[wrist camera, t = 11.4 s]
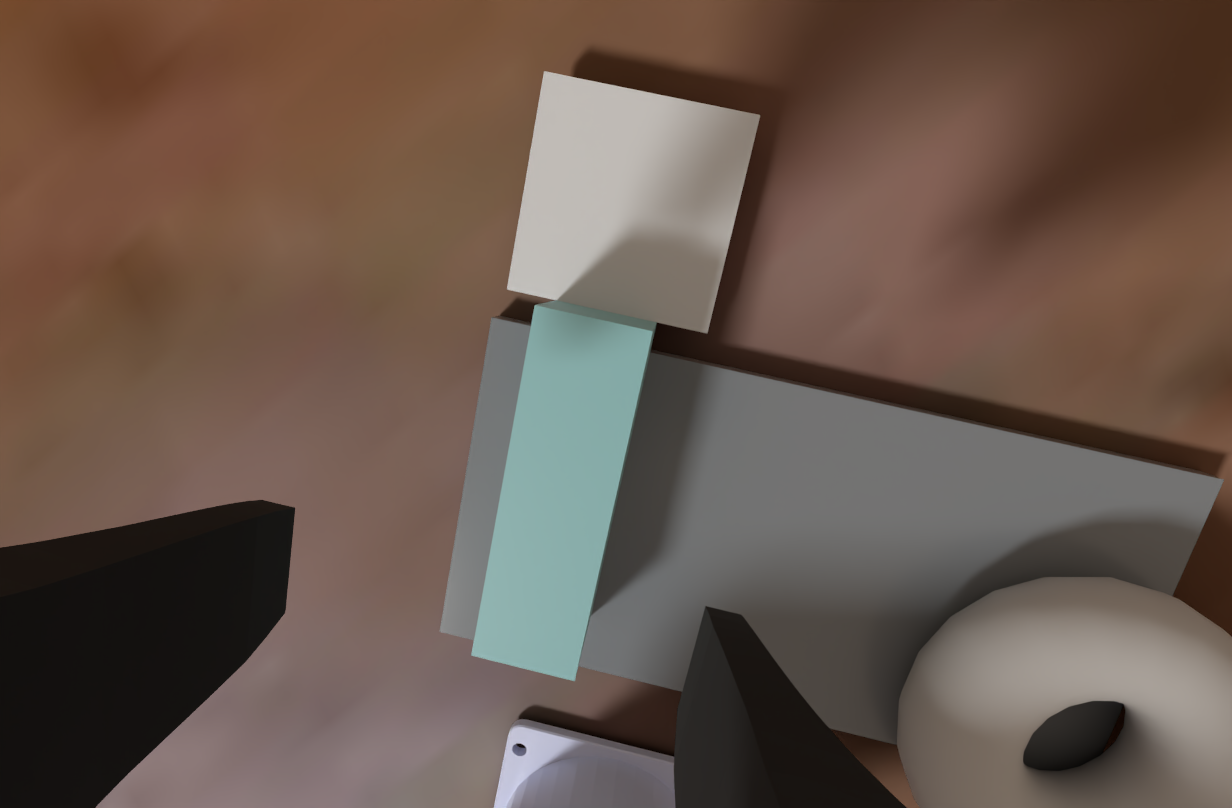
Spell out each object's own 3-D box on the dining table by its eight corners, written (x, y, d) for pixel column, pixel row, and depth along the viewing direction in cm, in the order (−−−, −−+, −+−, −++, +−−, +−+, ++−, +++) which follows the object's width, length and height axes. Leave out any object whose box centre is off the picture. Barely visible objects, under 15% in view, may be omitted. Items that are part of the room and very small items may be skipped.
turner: (635, 626, 21) (626, 693, 18) (461, 583, 21) (420, 642, 18) (757, 120, 18) (777, 83, 14) (548, 78, 18) (517, 31, 14)
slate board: (1070, 772, 21) (1085, 791, 21) (448, 619, 23) (439, 631, 22) (1202, 471, 19) (1224, 479, 18) (498, 315, 20) (491, 317, 19)
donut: (1388, 650, 15) (1249, 964, 18) (1261, 580, 19) (1158, 852, 21) (967, 589, 16) (885, 899, 18) (917, 532, 19) (853, 800, 22)
